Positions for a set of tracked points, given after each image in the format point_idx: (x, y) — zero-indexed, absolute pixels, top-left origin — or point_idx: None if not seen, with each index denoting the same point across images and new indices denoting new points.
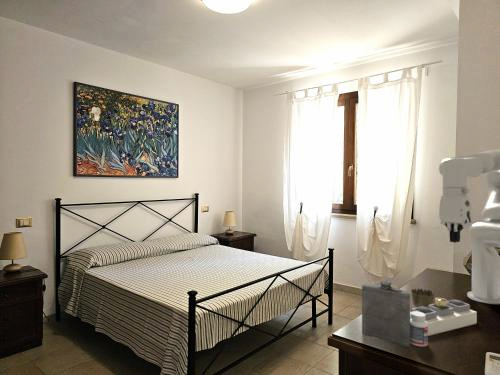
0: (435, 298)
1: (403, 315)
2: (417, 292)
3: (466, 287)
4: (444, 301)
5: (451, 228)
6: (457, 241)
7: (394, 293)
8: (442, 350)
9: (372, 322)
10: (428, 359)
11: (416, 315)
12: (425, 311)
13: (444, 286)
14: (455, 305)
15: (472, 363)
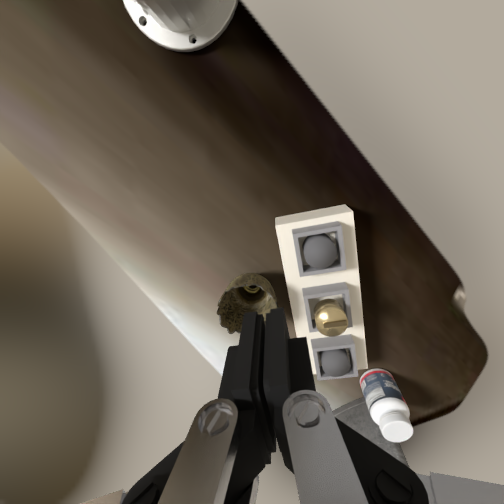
0: (321, 331)
1: None
2: (221, 302)
3: None
4: (347, 325)
5: (252, 482)
6: (287, 332)
7: None
8: (415, 362)
9: None
10: (428, 399)
11: (404, 440)
12: (348, 369)
13: (35, 37)
14: (333, 270)
15: (471, 350)
